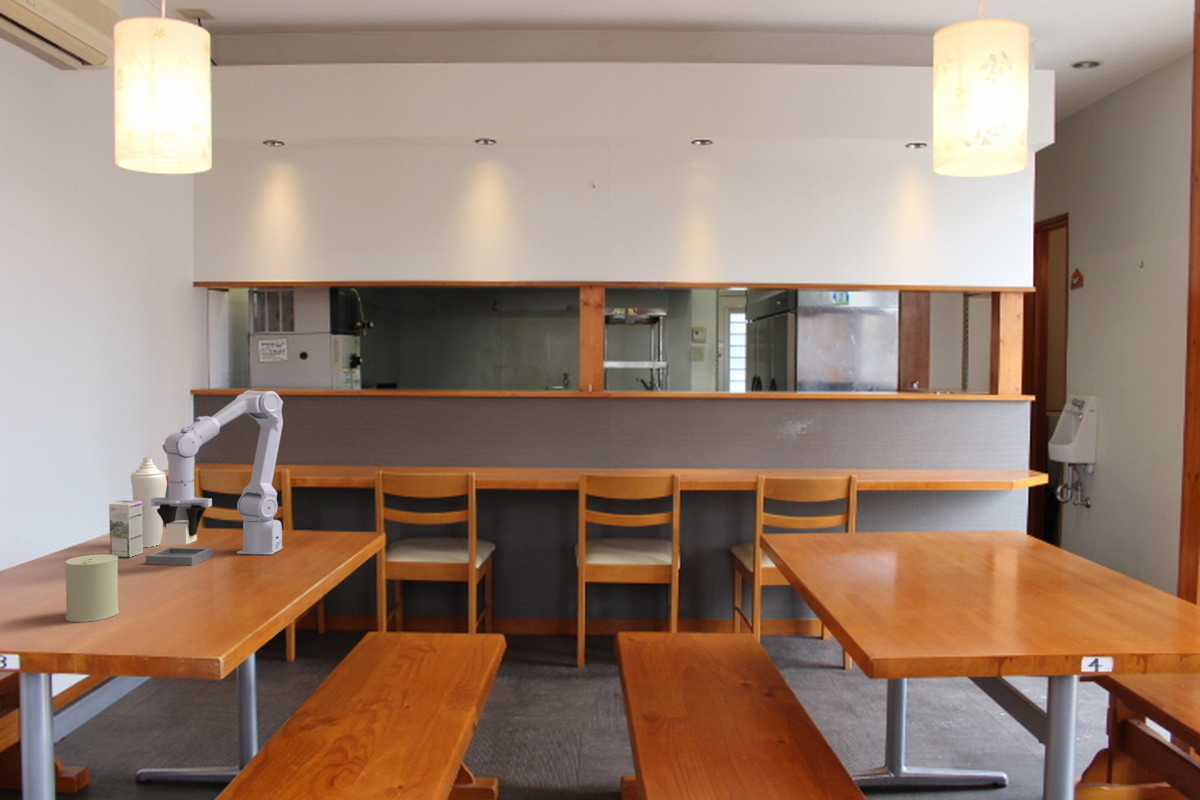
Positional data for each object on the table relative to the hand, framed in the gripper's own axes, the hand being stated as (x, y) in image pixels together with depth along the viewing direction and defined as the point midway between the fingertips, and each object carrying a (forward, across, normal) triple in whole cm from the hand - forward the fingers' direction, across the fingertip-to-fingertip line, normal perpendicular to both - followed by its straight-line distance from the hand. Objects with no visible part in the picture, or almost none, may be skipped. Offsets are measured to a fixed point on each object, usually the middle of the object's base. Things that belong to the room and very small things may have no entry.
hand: (182, 535), depth 206 cm
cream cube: (+2, 0, 0) cm, 2 cm away
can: (+8, +4, -39) cm, 40 cm away
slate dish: (+8, -5, +8) cm, 12 cm away
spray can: (+9, -24, +24) cm, 35 cm away
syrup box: (+9, -22, +12) cm, 26 cm away
